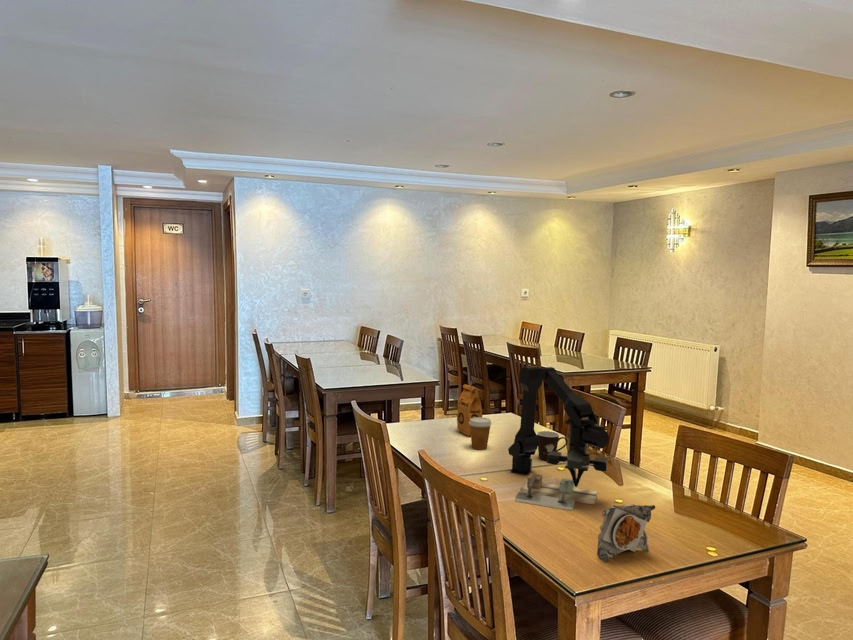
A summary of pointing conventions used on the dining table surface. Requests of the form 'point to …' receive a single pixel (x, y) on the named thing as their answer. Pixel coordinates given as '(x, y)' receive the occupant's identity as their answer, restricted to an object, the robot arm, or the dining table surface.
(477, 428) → the disposable coffee cup
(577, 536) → the dining table surface
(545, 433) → the coffee mug
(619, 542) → the meal
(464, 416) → the coffee package
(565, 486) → the slider leg
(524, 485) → the board
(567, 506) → the bolt hole plate
